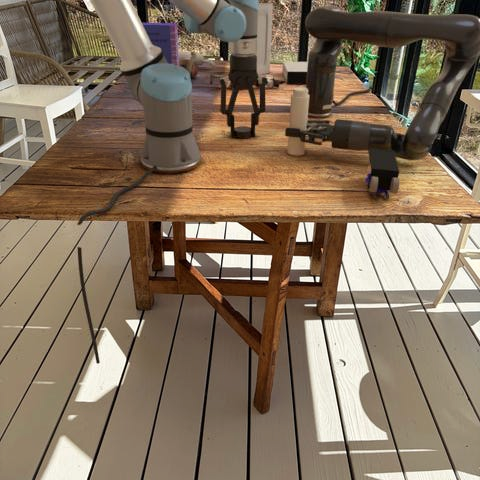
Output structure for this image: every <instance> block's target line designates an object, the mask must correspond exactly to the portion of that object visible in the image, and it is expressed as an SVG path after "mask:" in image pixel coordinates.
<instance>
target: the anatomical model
mask: <svg viewBox="0 0 480 480" xmlns="http://www.w3.org/2000/svg"><path fill="white" fill-rule="evenodd" d="M195 52H196V51H191V52H190V54H191V55H192V57H191V59H190V60H189V59H185V58H183V59H181V61H180V62H179V66H181V67H183V68H185V69H186V70H187V71H188V72H189V74H190V79H193V78H196V77H197V76H198V74H199V67H198V68H197V66H196V64H195V62H194V61H195V59H196V53H195Z"/></svg>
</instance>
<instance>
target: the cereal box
mask: <svg viewBox="0 0 480 480" xmlns="http://www.w3.org/2000/svg"><path fill="white" fill-rule="evenodd" d="M141 23H142V25H143V27H144V29H145V31H146V33H147V35H148V37H149V39H150V41H151V43H152V45H154V46H156V47H159V48H161V50H162V52H163V54H164V57H165V59H166V61H167V63H168V64H174V65H176V66H179V52H180V51H179V35H178V23H175V22H174V23H171V22H170V23H169V22H141Z"/></svg>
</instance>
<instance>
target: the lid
mask: <svg viewBox="0 0 480 480" xmlns="http://www.w3.org/2000/svg"><path fill="white" fill-rule="evenodd" d="M234 132H235V138H241V139H245V138H250V137H252V136H251V135H252V128H251V126H246V125H239V126H236V127H235V126H234Z"/></svg>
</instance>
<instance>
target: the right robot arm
mask: <svg viewBox="0 0 480 480" xmlns="http://www.w3.org/2000/svg"><path fill="white" fill-rule="evenodd" d="M304 22H305V23H304V25H305V29H306V32H307V33H308V34H309V36H310V37H312V38H313V39H315V42H314V45H313V46H312V48H311V49H310V50H309V52H308V56H307V62H308V67H307V79H306V84H305V88H307V89H308V91H309V92H308V94H309V95H310V96H309V108H308V117H309V118H310V117H311V118H318V119H319V118H320V119H321V118H328V117H330V116H332V109H333V108H332V107H333V105H334V106H340V105H341V104H343V103H344V102H345V101H347V100H348V99H349V98H350V97H351V96H353V95H358V94H359V95H360V94H366V93H369V92H371V90H374V87H373V86H372V85H370V86H369V87H368V89H365V90H358V91H352V92H350V93H348V94H347V95H346V96H345V97H343V99H341V101H339V102H337V101H335V99H334V97H335V94H334V90H335V82H336V81H335V80H336V73H337V70H336V69H337V62H338V56H339V55H340V52H341V48H342V43H343V40H345V41H350V42H354V43H359V44H364V45H370V46H375V47H382V48H388V49H389V48H390V49H398V48H402V47H405V46H408V45H411V44H412V43H415V42H417V41H420V40H421V41H422V40H432V41H440V42H444V51H445V53H446V54H445V55H446V56H445V60H444V63H443V67H442V69H441V72H440V73H439V75H438V77H437V78H436V79H435V80H434V81H433V82H432V83H431V84H430V85H429V87H427V89H426V91H425V92H424V94H423V96H422V99H421V101H420V103H419V104H418V107H417V109H416V112H415V114H414V116H413V118H412V119H411V121H410V123H409V125H408V126H407V129H406V131H405V134H403V133H401V132H400V133H399V132H396V131H395V128H394V127H393V126H392V125H389V124H381V123H371V122H367V121H361V120H352V119H350V120H349V119H340V118H338V119H337V118H336V119H335V120H334V125H333V124H330V121H329V120H317V119H315V120H313V119H312V120H311V119H309V120H308V119H307V129H297V128H289V127H286V128H285V130H284V131H285V132H284V135H285V137H287V138H288V137H297V138H299V139H300V141H301V142H305V144H311V145H317V146H322V145H323V143H325V142H331V148H332V149H337V150H346V151H353V152H354V151H356V152H368V149H378V150H388V151H394V153H395V157H396V158H399V159H401V160H405V161H412V162H413V161H420V160H423V159H425V158H426V157H428V155H429V154H430V152H431V149H432V147H433V144H434V142H435V139H436V137H437V135H438V133H439V129H440V127H441V124H442V123H443V122H444V120H445V118H446V116H447V114H448V111H449V109H450V107H451V105H452V103H453V100H454V98H455V96H456V93H457V91H458V89H459V88H460V86H461V84H462V82H463V81H464V80H465V77H466V75H468V72H469V71H470V69H472V66H473V65H474V64H475V62H476V61H477V59H478V58H479V57H480V17H479V16H476V15H473V14H465V13H464V14H462V13H461V14H459V13H458V14H454V13H453V14H421V13H405V12H398V11H387V10H386V11H385V10H373V11H371V10H369V11H359V12H358V11H357V12H344V11H343V10H342V9H341V8H340V7H339V6H337V5H333V4H332V5H323V6H317V7H316V8H314V9H312V10H311V11H310V12H309V14H307V16H306V18H305V21H304ZM305 135H306V136H305Z"/></svg>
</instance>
